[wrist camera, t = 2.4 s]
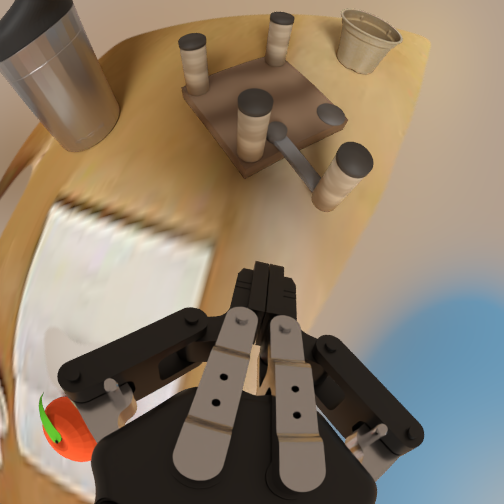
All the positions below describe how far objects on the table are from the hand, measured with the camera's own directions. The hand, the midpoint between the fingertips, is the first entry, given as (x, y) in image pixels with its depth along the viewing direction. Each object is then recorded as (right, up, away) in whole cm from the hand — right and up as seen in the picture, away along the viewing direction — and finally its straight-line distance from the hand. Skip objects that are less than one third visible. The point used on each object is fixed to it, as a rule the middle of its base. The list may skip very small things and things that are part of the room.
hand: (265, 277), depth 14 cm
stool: (+1, +18, +15) cm, 24 cm away
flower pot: (+16, +31, +19) cm, 40 cm away
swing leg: (+4, +9, +11) cm, 15 cm away
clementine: (-18, -16, +7) cm, 25 cm away
